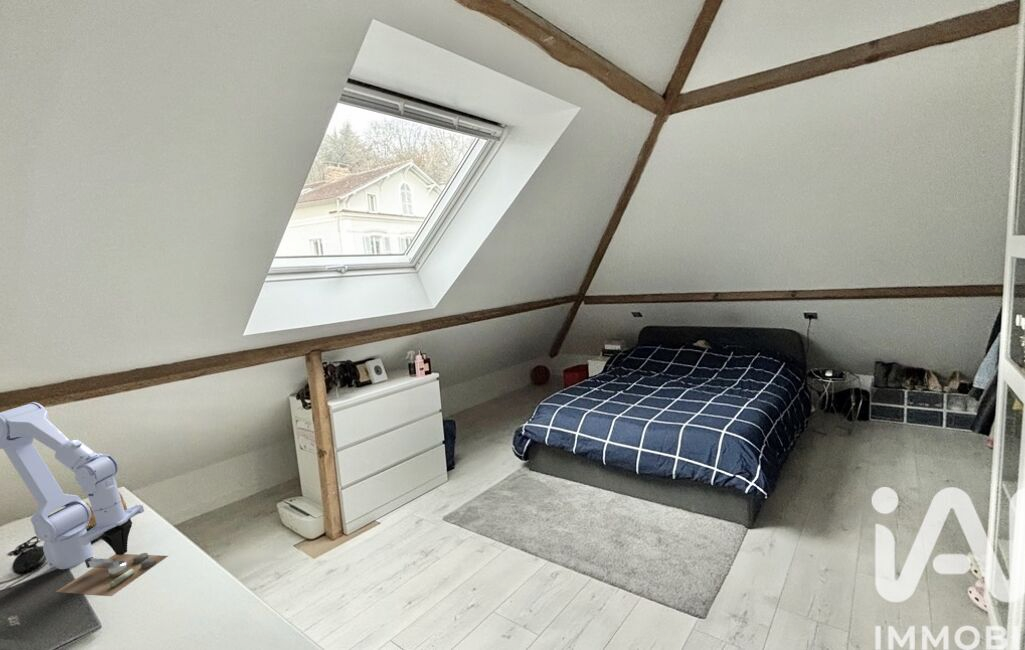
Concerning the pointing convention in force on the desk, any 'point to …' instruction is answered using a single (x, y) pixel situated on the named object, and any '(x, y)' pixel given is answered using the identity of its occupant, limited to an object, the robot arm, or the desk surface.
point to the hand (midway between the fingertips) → (121, 553)
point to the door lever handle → (108, 565)
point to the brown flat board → (103, 584)
